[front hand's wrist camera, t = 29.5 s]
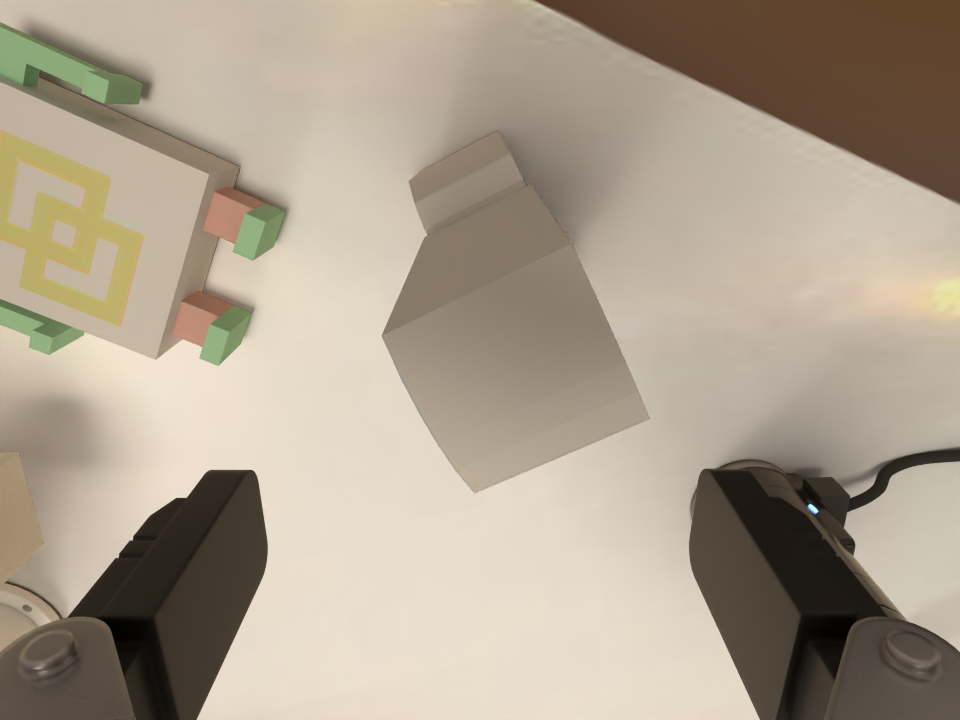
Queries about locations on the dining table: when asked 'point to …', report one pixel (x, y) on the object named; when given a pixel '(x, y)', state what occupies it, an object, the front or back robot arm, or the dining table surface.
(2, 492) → the brick
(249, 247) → the decorative block
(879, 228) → the dining table surface
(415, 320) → the electronic device
